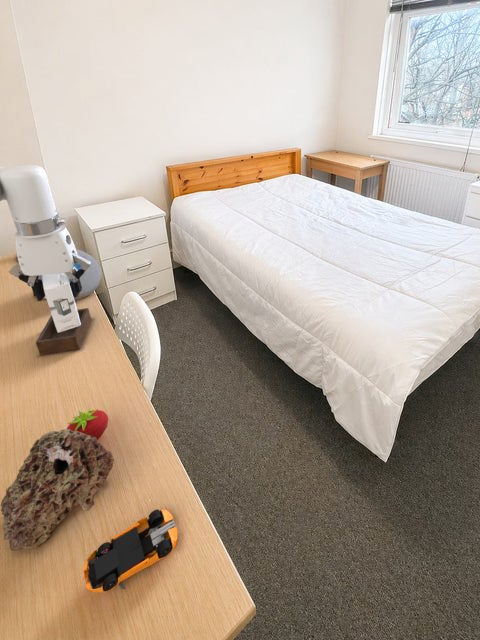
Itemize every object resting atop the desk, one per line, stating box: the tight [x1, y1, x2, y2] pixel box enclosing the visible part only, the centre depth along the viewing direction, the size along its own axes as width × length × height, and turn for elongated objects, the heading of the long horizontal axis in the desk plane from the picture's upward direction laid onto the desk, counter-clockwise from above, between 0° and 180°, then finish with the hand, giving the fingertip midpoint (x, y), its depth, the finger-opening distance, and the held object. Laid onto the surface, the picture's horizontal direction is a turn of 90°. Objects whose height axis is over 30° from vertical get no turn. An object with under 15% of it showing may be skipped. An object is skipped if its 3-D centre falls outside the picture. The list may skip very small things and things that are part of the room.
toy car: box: [82, 508, 178, 594], centre depth 56 cm, size 12×12×3 cm
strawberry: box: [66, 408, 109, 442], centre depth 71 cm, size 6×8×10 cm
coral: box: [0, 428, 115, 551], centre depth 62 cm, size 18×13×15 cm
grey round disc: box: [39, 248, 102, 301], centre depth 120 cm, size 18×18×5 cm
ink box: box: [42, 273, 81, 333], centre depth 82 cm, size 9×5×12 cm, turn 38°
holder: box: [35, 307, 92, 357], centre depth 102 cm, size 10×14×5 cm
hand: (59, 295), depth 81 cm, fingers closed on ink box, 6 cm apart
